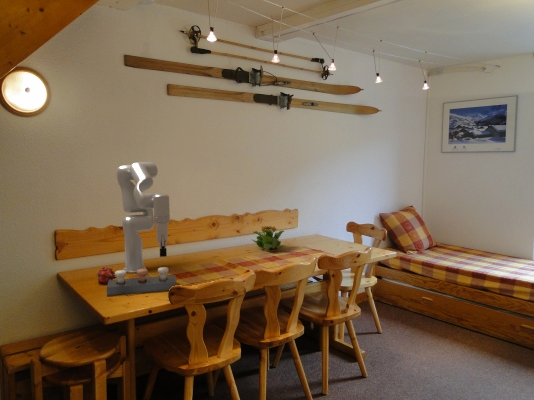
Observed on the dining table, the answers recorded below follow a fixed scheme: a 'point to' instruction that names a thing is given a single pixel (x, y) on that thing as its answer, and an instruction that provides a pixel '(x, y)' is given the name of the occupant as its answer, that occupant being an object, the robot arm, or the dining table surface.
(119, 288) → the knob mount
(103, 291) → the dining table surface
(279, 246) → the potted flower
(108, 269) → the dragon fruit
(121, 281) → the knob
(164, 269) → the knob
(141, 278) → the dial
